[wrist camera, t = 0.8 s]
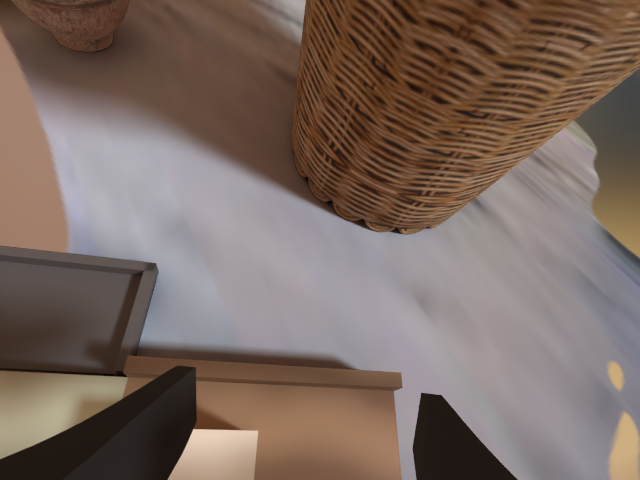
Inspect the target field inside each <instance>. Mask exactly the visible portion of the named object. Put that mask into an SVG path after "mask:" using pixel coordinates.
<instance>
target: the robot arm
mask: <svg viewBox="0 0 640 480" xmlns="http://www.w3.org/2000/svg"><path fill="white" fill-rule="evenodd" d="M196 422H197V404H196V367H189V366H180V365H177V366H176V367H174V368H172V369H170V370H168V371H167V372H165V373H164V374H162V375H160V376H159V377H157V378H155V379H154V380H152V381H151V382H149V383H147V384H146V385H144V386H143V387H141V388H139V389H138V390H136V391H134V392H133V393H131V394H130V395H128V396H126V397H125V398H123V399H121V400H120V401H118V402H116V403H114V404H113V405H111V406H109V407H107V408H106V409H104V410H102V411H100V412H99V413H97V414H95V415H93V416H91V417H90V418H88V419H86V420H84V421H82V422H81V423H79V424H77V425H75V426H73V427H71V428H69V429H67V430H65V431H63V432H61V433H59V434H57V435H54V436H52V437H50V438H48V439H46V440H44V441H42V442H40V443H37V444H35V445H33V446H31V447H28V448H26V449H23V450H21V451H19V452H16V453H14V454H11V455H9V456H7V457H4V458H2V459H0V480H168V478H169V476H170V475H171V473H172V471H173V469H174V468H175V466H176V464H177V462H178V461H179V459H180V457H181V455H182V454H183V452H184V449H185V447H186V445H187V443H188V441H189V438H190V436H191V434H192V431H193V429H194V427H195V424H196ZM413 454H414V463H415V470H416V477H417V480H517V479H516V478H515V477H514V476H513V475H512V474H511V473H510V472H509V471H508V470H507V469H506V468H505V467H504V466H503V465H502V463H501V462H500V461H499V460H498V459H497V458H496V457H495V456H494V455H493V454H492V453H491V452H490V451H489V450H488V449H487V448H486V446H485V445H484V444H483V443H482V442H481V441H480V440H479V439H478V438H477V436H476V435H475V434H474V433H473V432H472V431H471V430H470V428H469V427H468V426H467V425H466V424H465V423H464V421H463V420H462V419H461V418H460V417H459V415H458V414H457V413H456V412H455V411H454V409H453V408H452V407H451V406H450V405H449V403H448V402H447V401H446V400H445V399H444V398H443V396H442V395H435V394H426V393H421V399H420V405H419V411H418V418H417V424H416V430H415V437H414V443H413Z"/></svg>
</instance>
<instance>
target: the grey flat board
mask: <svg viewBox="0 0 640 480" xmlns="http://www.w3.org/2000/svg"><path fill="white" fill-rule="evenodd" d="M158 272H159V271H158V268H157V265H156V263H148V262H139V261H131V260H122V259H113V258H104V257H96V256H87V255H78V254H69V253H60V252H51V251H43V250H34V249H25V248H16V247H7V246H0V369H11V370H30V371H49V372H68V373H87V374H107V375H125V374H124V373H123V371H124V367H125V364H126V360H127V357H128V356H136V352H137V348H138V345H139V341H140V337H141V334H142V330H143V327H144V323H145V319H146V316H147V312H148V308H149V305H150V301H151V298H152V294H153V290H154V287H155V283H156V279H157V276H158Z"/></svg>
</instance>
